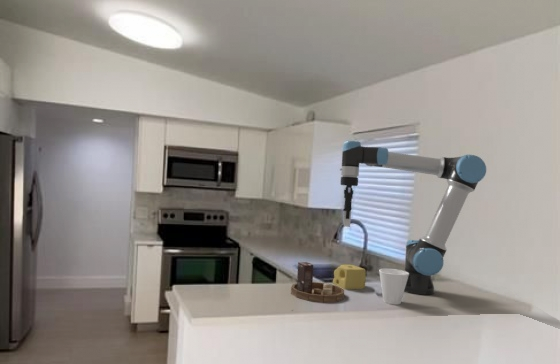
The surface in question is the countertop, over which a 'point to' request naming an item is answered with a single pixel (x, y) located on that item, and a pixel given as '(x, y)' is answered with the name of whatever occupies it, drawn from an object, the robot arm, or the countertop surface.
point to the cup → (393, 285)
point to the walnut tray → (318, 297)
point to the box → (305, 277)
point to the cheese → (349, 277)
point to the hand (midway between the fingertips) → (346, 225)
